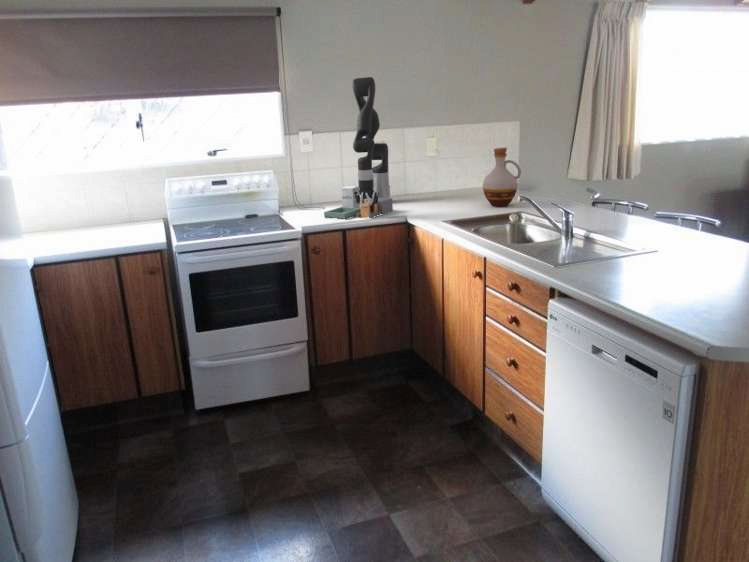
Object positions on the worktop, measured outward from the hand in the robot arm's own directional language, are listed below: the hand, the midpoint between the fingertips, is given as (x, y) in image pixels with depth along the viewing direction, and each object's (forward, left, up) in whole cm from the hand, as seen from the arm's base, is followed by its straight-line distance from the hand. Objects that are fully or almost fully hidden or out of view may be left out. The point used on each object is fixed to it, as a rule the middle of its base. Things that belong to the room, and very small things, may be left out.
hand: (367, 211), depth 323 cm
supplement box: (-12, -19, -3) cm, 23 cm away
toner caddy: (-1, 0, -2) cm, 3 cm away
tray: (+3, -13, -2) cm, 14 cm away
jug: (-49, +52, -3) cm, 72 cm away
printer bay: (-6, 0, -2) cm, 7 cm away
